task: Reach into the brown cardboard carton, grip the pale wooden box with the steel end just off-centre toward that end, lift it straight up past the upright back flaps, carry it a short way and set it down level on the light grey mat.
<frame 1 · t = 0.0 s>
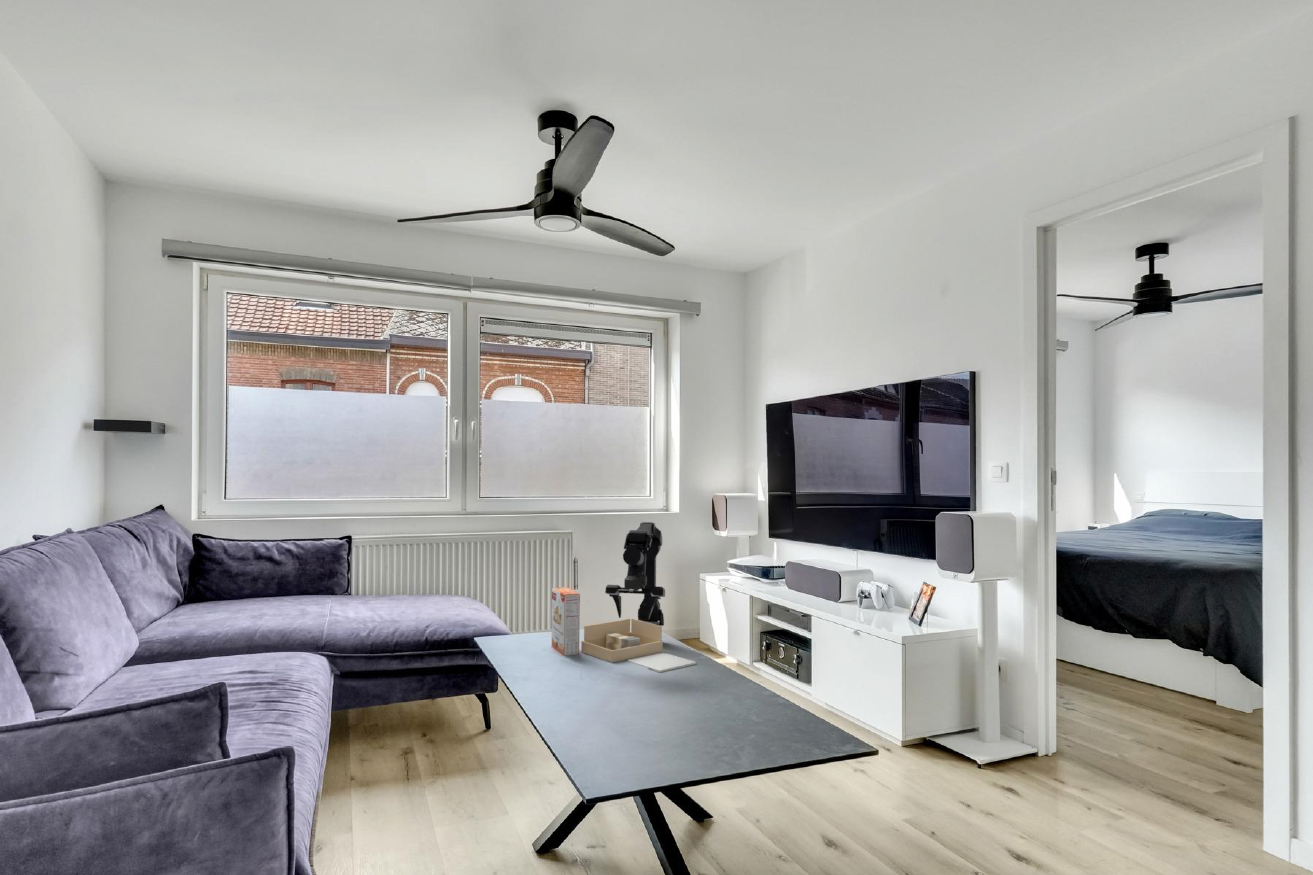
hand: (633, 618, 241), 15 cm above the table, tool pointing down, fingers open, 9 cm apart
cracker box: (564, 651, 259), on the table
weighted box: (622, 651, 258), resting on carton
carton: (622, 652, 258), on the table
grey mat: (661, 662, 246), on the table
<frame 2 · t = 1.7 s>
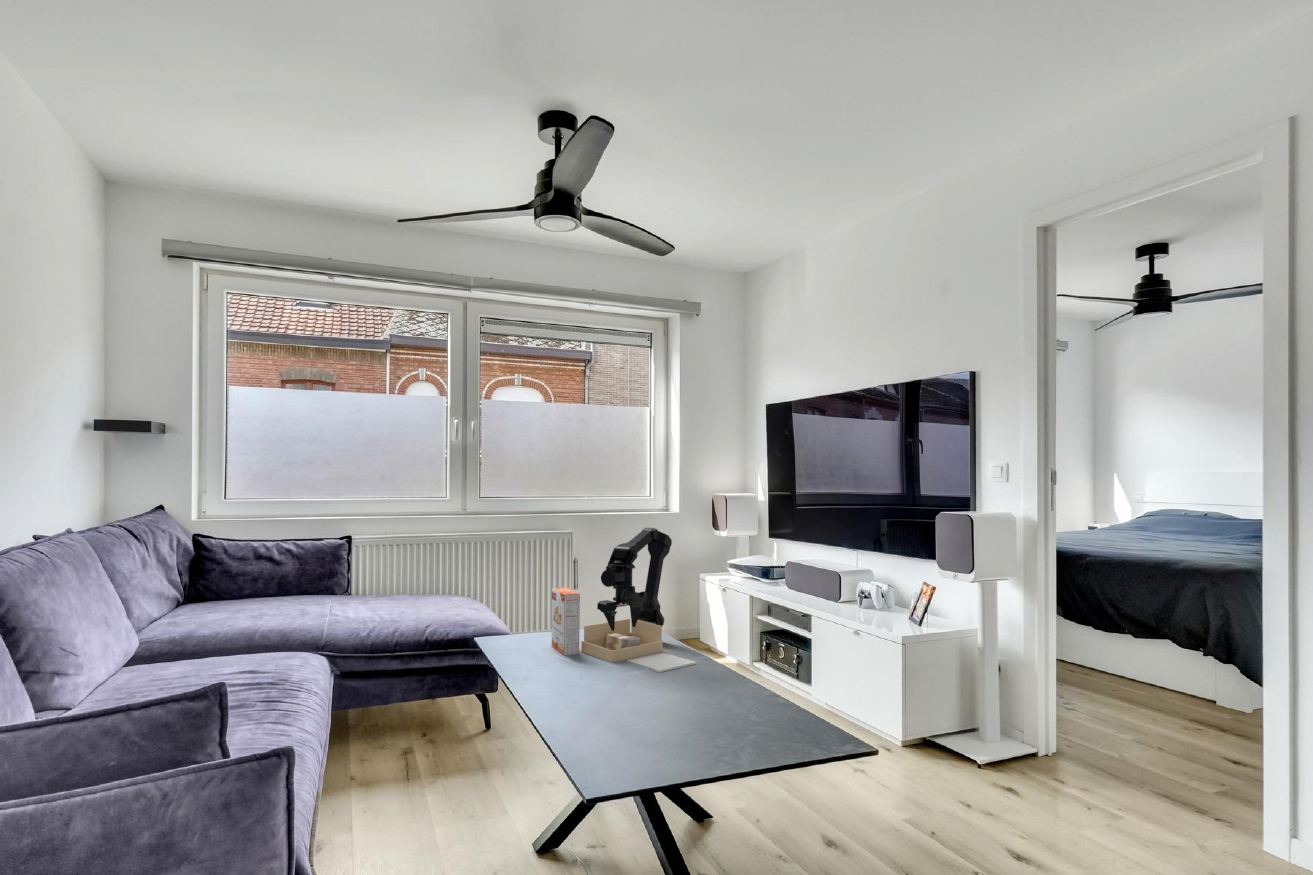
hand: (623, 628, 258), 8 cm above the table, tool pointing down, fingers open, 9 cm apart
nothing on the table moved.
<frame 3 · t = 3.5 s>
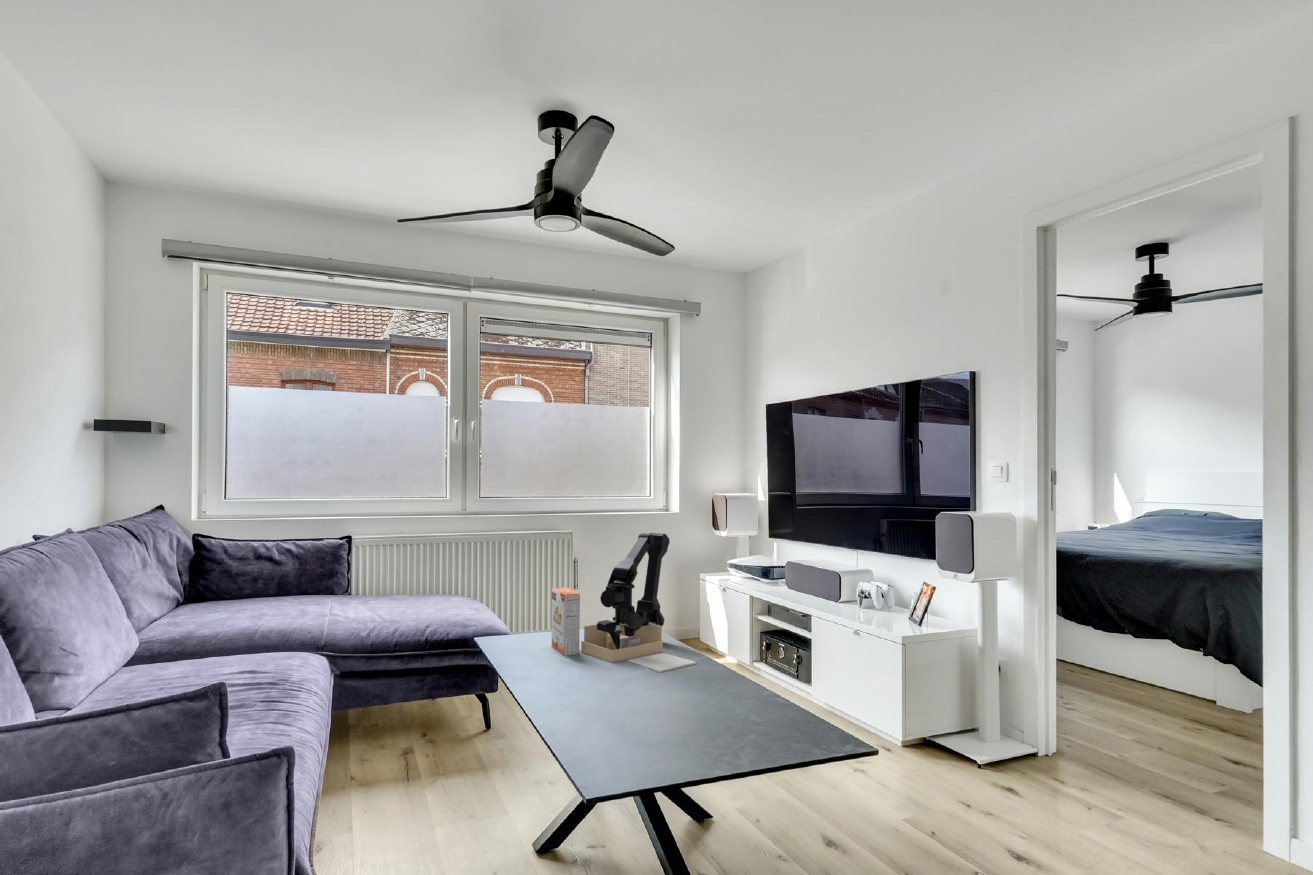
hand: (622, 648, 258), 2 cm above the table, tool pointing down, fingers closed on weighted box, 4 cm apart
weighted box: (622, 651, 258), resting on carton, touching gripper
everything else where it was.
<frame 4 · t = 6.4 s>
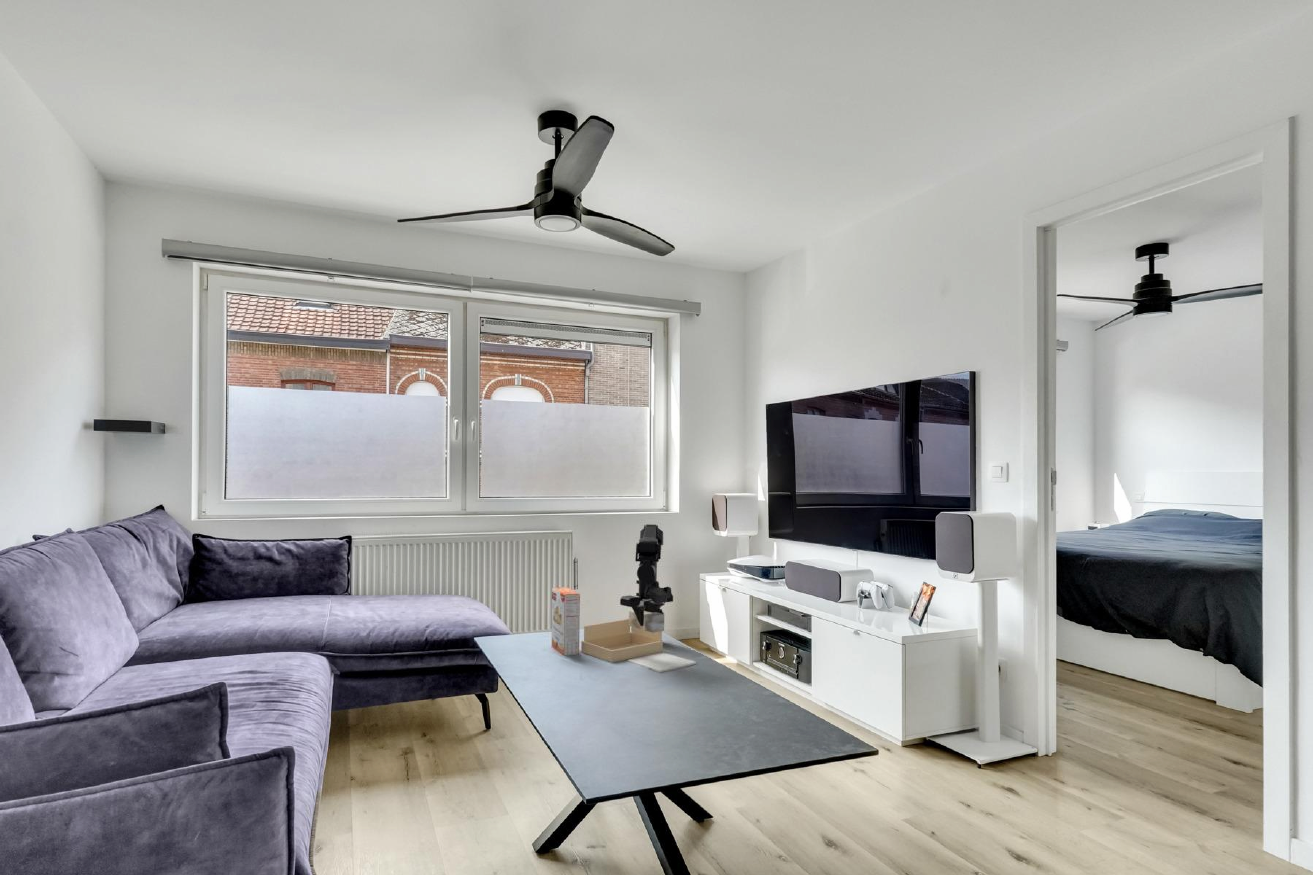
hand: (646, 625, 250), 11 cm above the table, tool pointing down, fingers closed on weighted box, 4 cm apart
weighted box: (645, 628, 251), point 10 cm above the table, touching gripper
everything else where it was.
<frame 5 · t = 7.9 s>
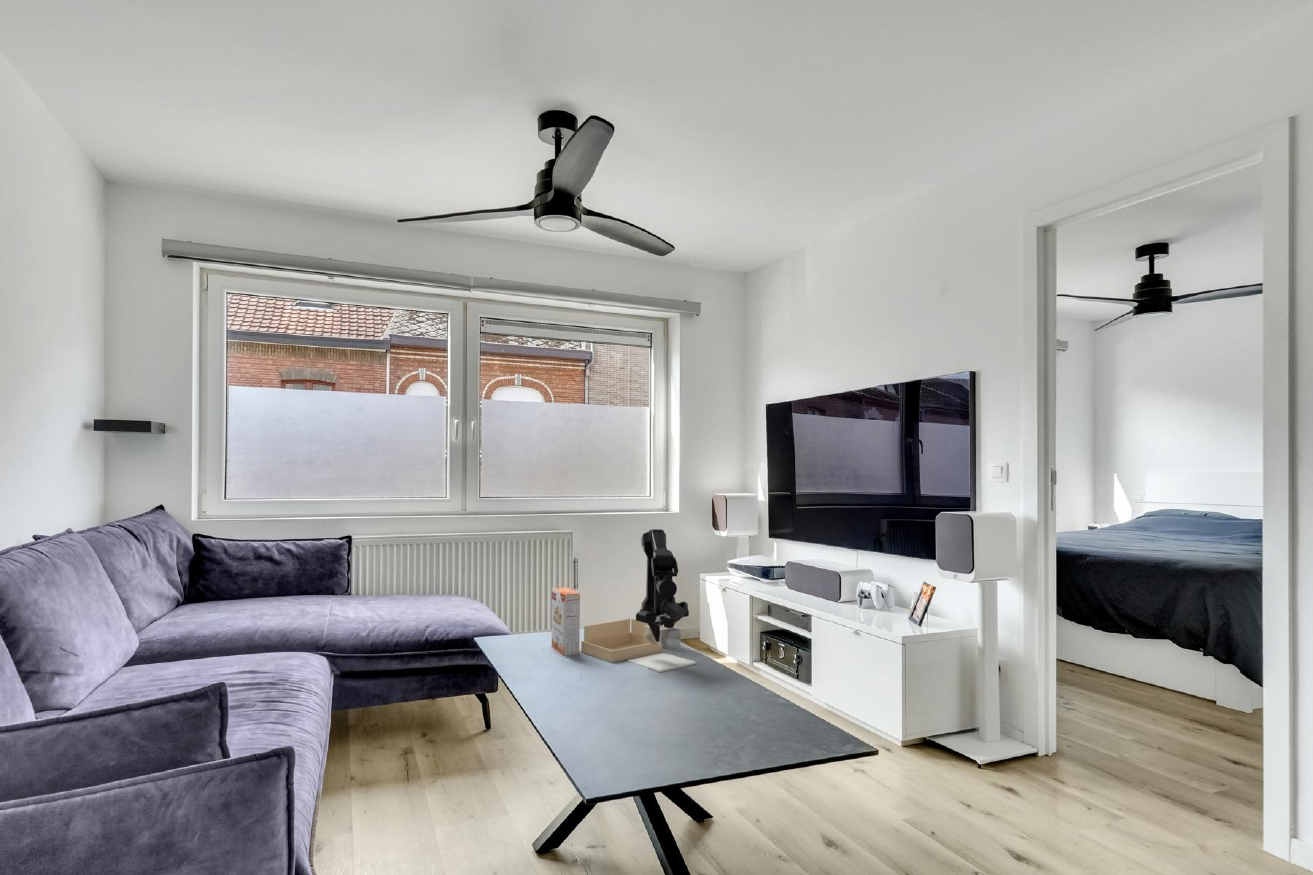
hand: (662, 640, 246), 7 cm above the table, tool pointing down, fingers closed on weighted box, 4 cm apart
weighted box: (661, 643, 246), point 6 cm above the table, touching gripper
everything else where it was.
when the fingers open (3 cm above the table, at t = 9.3 s): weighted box drops 1 cm, resting on grey mat.
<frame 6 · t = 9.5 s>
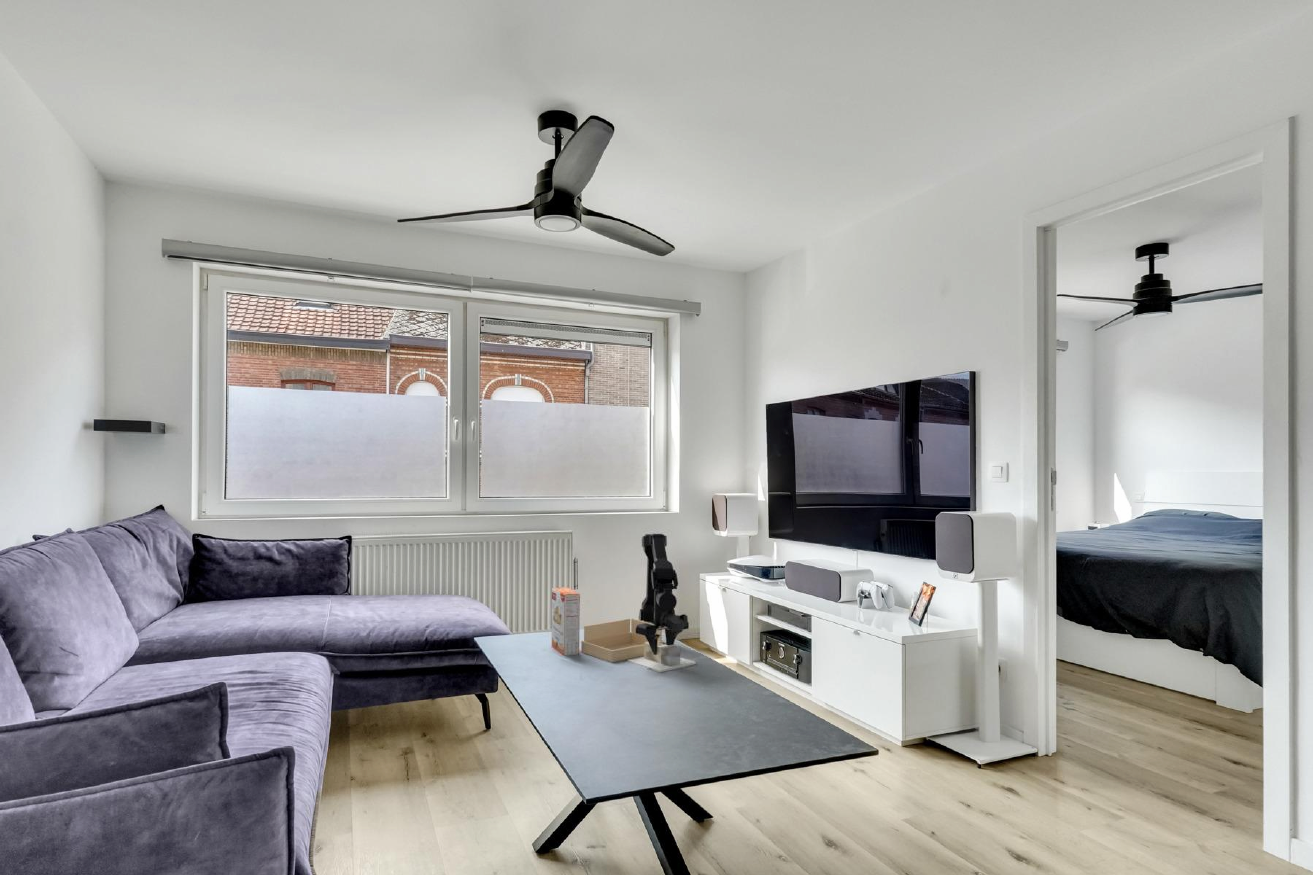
hand: (662, 653, 246), 3 cm above the table, tool pointing down, fingers open, 6 cm apart
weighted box: (661, 660, 246), point 1 cm above the table, touching grey mat
everything else where it was.
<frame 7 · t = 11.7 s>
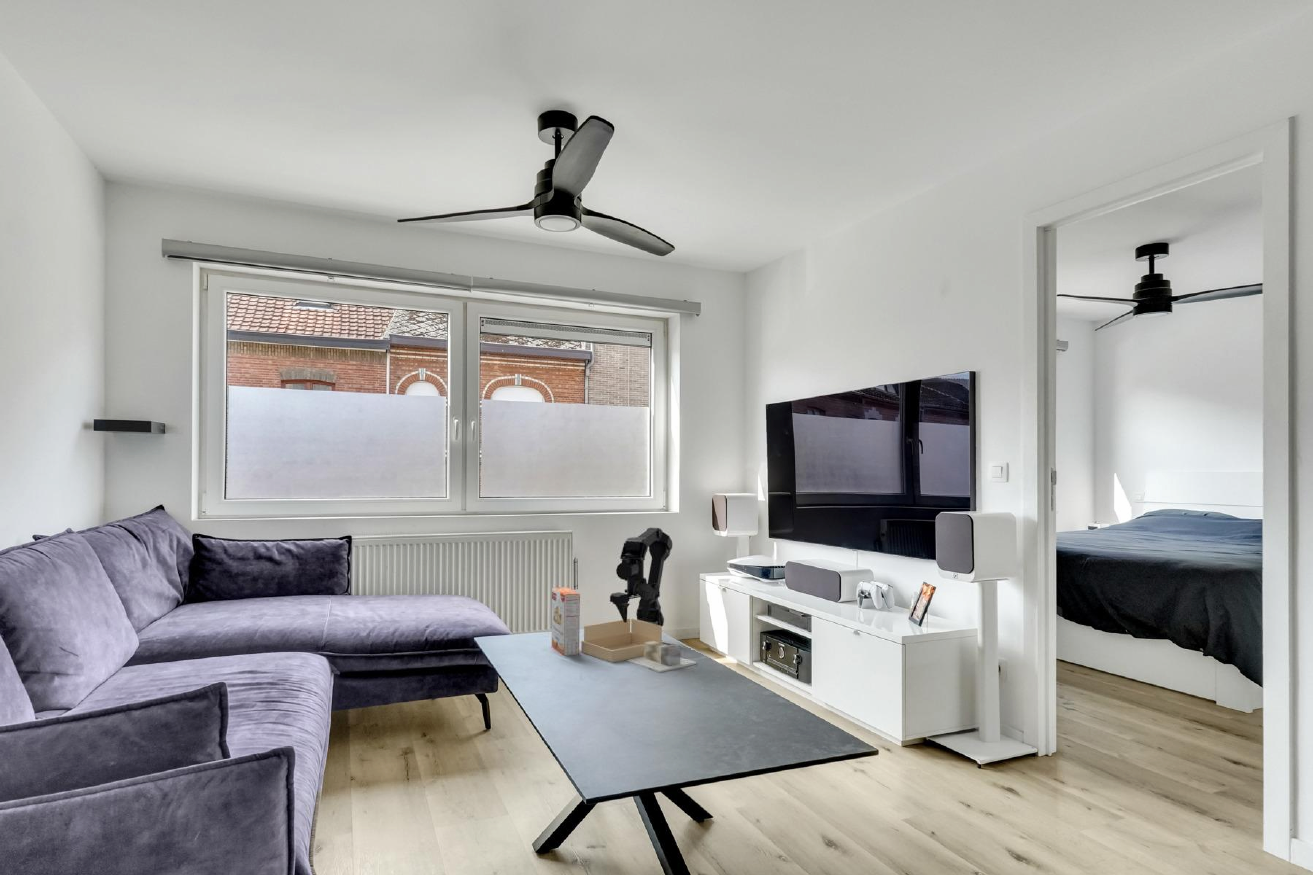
hand: (635, 620, 261), 11 cm above the table, tool pointing down, fingers open, 9 cm apart
nothing on the table moved.
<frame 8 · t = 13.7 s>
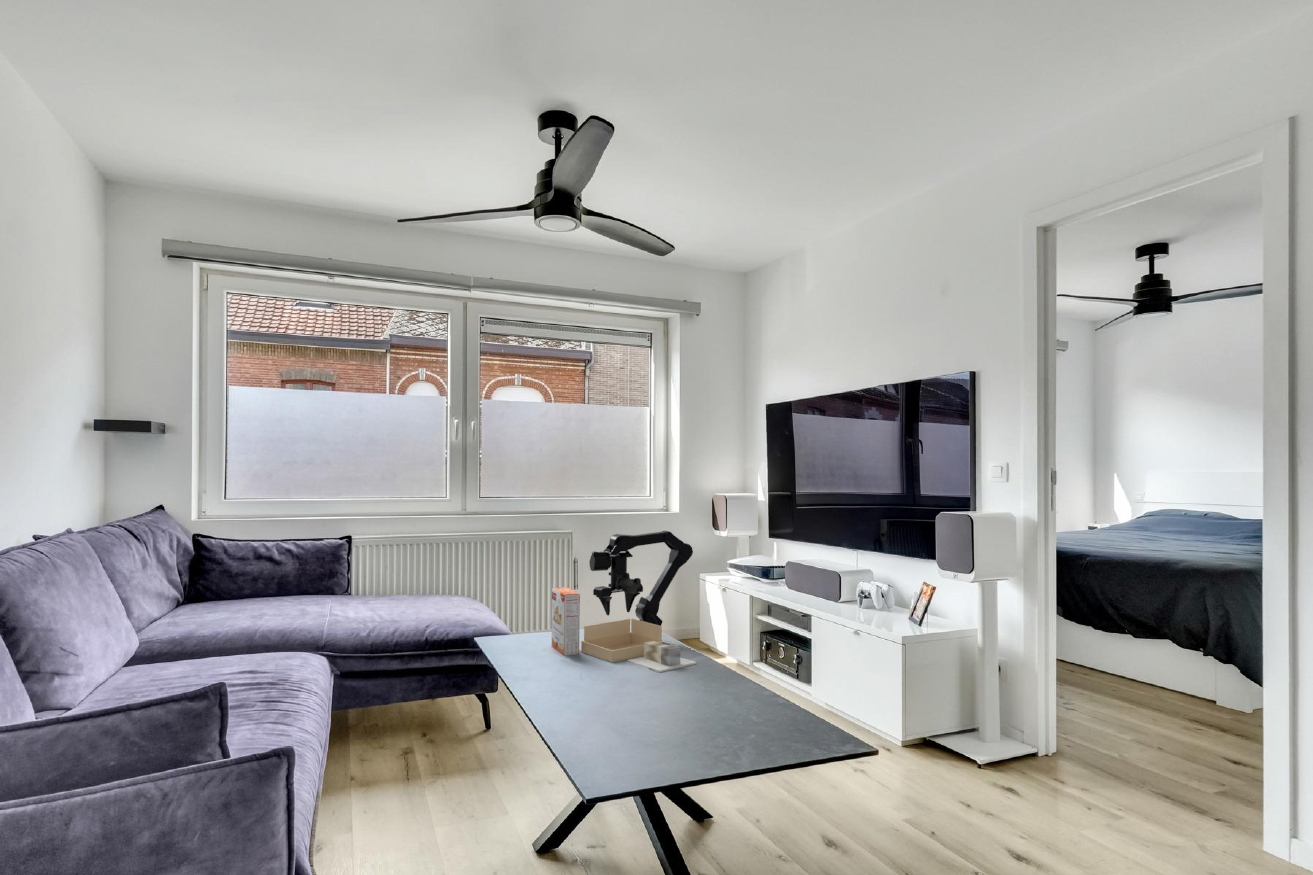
hand: (618, 613, 270), 11 cm above the table, tool pointing down, fingers open, 9 cm apart
nothing on the table moved.
at the end: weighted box inside the target area on the grey mat (0.1 cm from its centre), point 0.6 cm above the grey mat's base; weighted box tilted 0°; the gripper is holding nothing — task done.
